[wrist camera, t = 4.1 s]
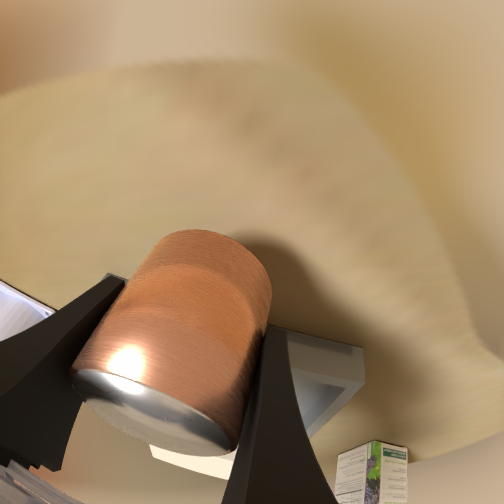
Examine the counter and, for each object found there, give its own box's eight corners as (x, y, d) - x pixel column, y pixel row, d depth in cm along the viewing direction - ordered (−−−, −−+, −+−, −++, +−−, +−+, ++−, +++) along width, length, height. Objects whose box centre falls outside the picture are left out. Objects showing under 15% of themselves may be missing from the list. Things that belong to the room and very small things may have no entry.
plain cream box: (165, 423, 28) (153, 456, 25) (163, 392, 24) (146, 433, 20) (239, 446, 28) (230, 480, 25) (255, 420, 23) (245, 464, 20)
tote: (135, 410, 30) (127, 428, 28) (107, 272, 18) (86, 299, 16) (273, 451, 29) (269, 471, 27) (363, 348, 17) (365, 383, 15)
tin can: (148, 309, 14) (88, 418, 9) (148, 213, 11) (44, 336, 6) (256, 343, 14) (224, 469, 9) (288, 253, 11) (256, 419, 6)
